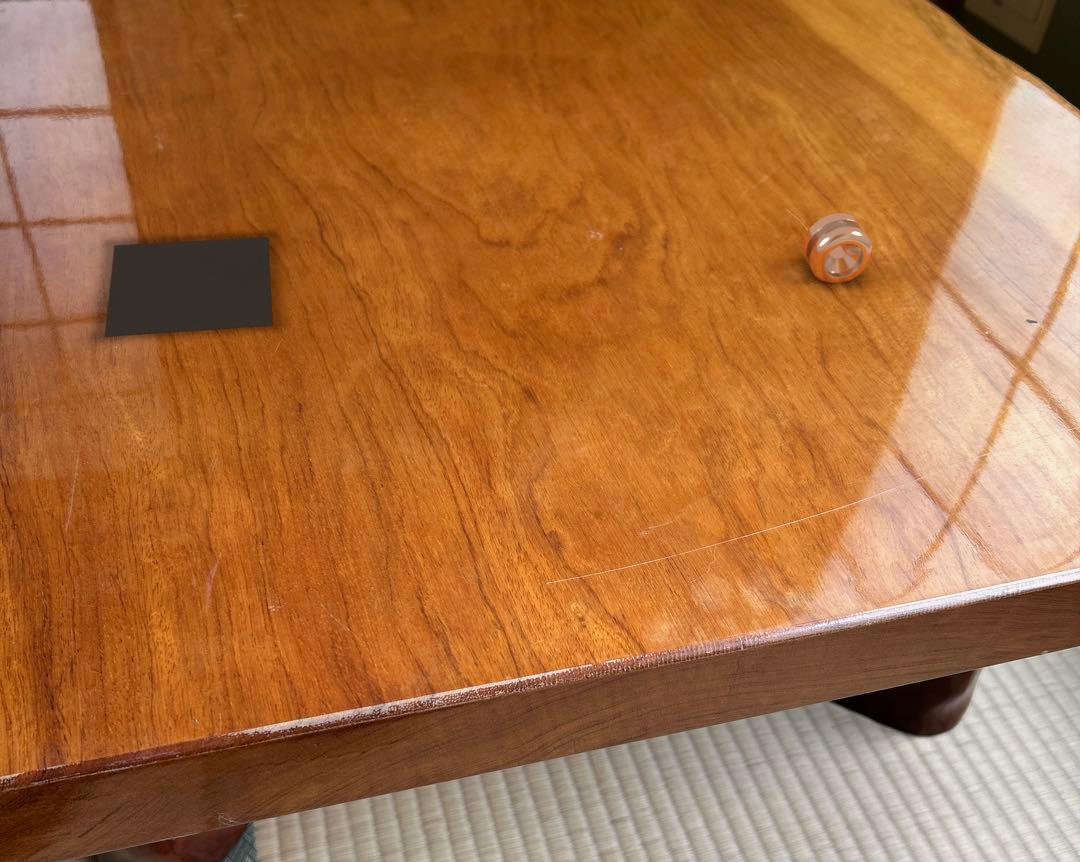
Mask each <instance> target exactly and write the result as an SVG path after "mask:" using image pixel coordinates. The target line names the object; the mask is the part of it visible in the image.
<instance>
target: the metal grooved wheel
mask: <svg viewBox="0 0 1080 862" xmlns="http://www.w3.org/2000/svg"><path fill="white" fill-rule="evenodd" d="M801 249H802V250H801V251H802V254H803V256H804V258H805V261H806V262H807V265H809V267H810V270H811V272H812V274H813V275H814V276H815V277H816V279H818V280H819V281H821V282H823V283H828V284H842V283H847V282H849V281H852V280H853V279H856V278H857V277H858V276H860V275H861V274H862V273H863V272H864V270H866V268H867V267H868V266H869V264H870V262H871V259H872V257H873V243H872V241H871V238H870V237H869V235H868V234H867V233H866V230H865V228H864V227H863V225H862V224H861V222H860V220H859V219H858V218H857V217H855V216H854V215H852V214H849V213H845V212H844V213H843V212H837V213H832V214H829V215H826V216H824V217H822V218H820V219H818V220H817V221H816V222H815V223H814V224H813V225H812V226H810V228H809V229H808V230H807V232H806V233H805V234H804V238H803V240H802V246H801Z"/></svg>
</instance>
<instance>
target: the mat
mask: <svg viewBox="0 0 1080 862" xmlns="http://www.w3.org/2000/svg"><path fill="white" fill-rule="evenodd" d="M269 246H270V245H269V237H268V236H257V237H240V238H221V239H203V240H202V239H201V240H185V241H184V240H183V241H169V242H168V241H166V242H165V241H164V242H151V243H150V242H148V243H136V244H135V243H132V244H131V243H130V244H129V243H128V244H114V246H113V256H112V265H111V275H110V283H109V294H108V304H107V311H106V320H105V322H106V323H105V330H104V337H105V338H112V337H128V336H139V335H140V336H141V335H142V336H143V335H154V334H157V335H158V334H170V333H186V332H199V331H214V330H215V331H216V330H229V329H245V328H259V327H273V324H274V323H273V307H272V306H273V304H272V288H271V287H272V286H271V285H272V284H271V268H270V267H271V266H270V250H269Z"/></svg>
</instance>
